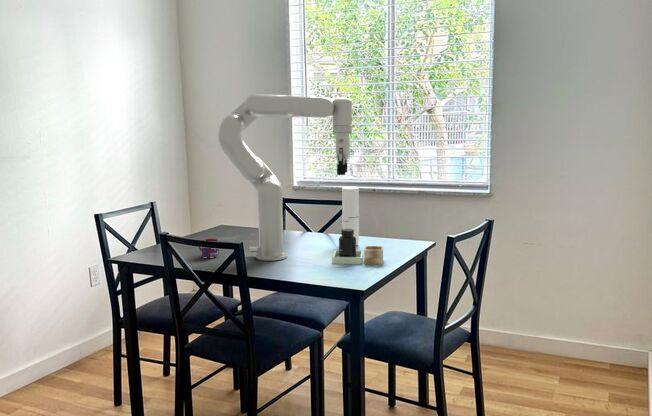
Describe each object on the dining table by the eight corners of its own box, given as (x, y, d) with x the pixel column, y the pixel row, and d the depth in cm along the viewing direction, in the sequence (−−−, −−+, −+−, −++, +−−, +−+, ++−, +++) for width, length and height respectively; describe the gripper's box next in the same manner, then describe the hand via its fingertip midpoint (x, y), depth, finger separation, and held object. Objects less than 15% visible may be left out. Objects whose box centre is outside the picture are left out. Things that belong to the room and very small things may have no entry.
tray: (332, 264, 233) (332, 257, 232) (335, 257, 244) (335, 250, 243) (361, 265, 232) (361, 257, 231) (363, 258, 243) (363, 250, 242)
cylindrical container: (358, 246, 263) (359, 188, 259) (342, 246, 263) (342, 188, 259) (358, 242, 270) (358, 186, 266) (342, 243, 270) (342, 186, 266)
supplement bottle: (335, 260, 236) (335, 230, 234) (343, 257, 242) (343, 227, 240) (351, 262, 233) (351, 232, 231) (359, 258, 239) (359, 228, 237)
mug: (208, 259, 242) (207, 242, 241) (194, 255, 249) (193, 239, 248) (222, 256, 246) (221, 240, 245) (208, 252, 254) (207, 236, 252)
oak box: (364, 265, 232) (364, 249, 231) (364, 260, 239) (365, 245, 238) (382, 265, 231) (382, 250, 230) (383, 261, 238) (383, 246, 237)
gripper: (350, 130, 231) (350, 176, 233) (353, 129, 247) (353, 171, 250) (330, 130, 231) (330, 175, 234) (334, 129, 248) (334, 171, 251)
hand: (342, 173), depth 242 cm, fingers open, 9 cm apart
